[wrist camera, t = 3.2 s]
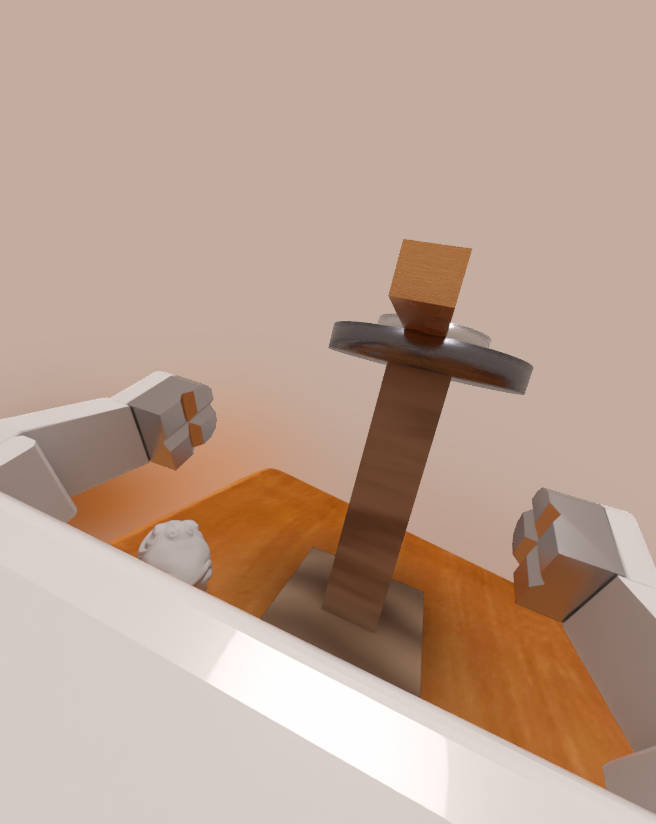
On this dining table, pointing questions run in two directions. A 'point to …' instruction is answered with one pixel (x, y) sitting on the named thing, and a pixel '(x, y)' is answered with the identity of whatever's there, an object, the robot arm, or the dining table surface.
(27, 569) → the robot arm
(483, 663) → the dining table surface
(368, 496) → the pedestal
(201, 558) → the frog figurine
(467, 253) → the cover
